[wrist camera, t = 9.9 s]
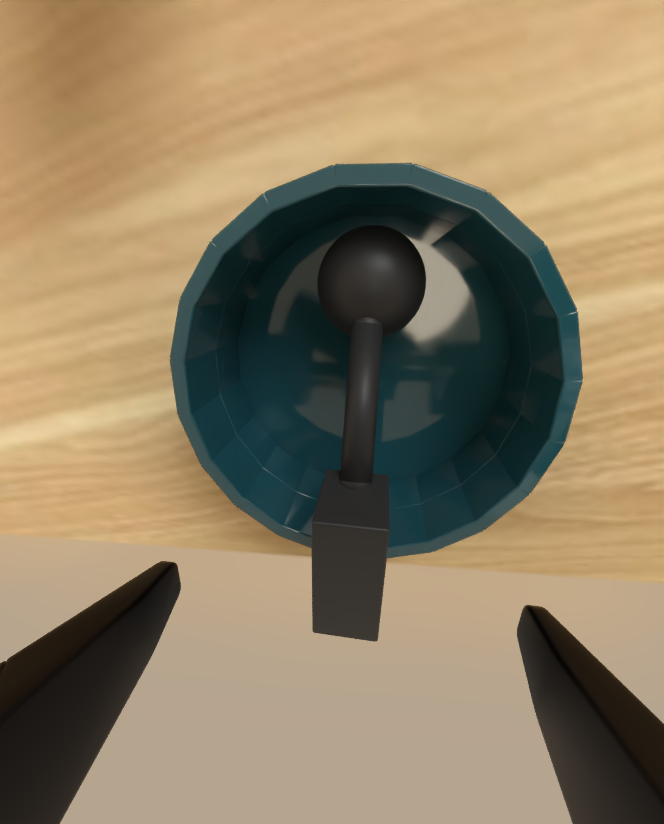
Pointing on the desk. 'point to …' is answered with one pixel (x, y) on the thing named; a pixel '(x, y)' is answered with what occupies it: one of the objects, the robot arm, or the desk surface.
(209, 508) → the desk surface
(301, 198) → the bowl
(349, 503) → the ladle
